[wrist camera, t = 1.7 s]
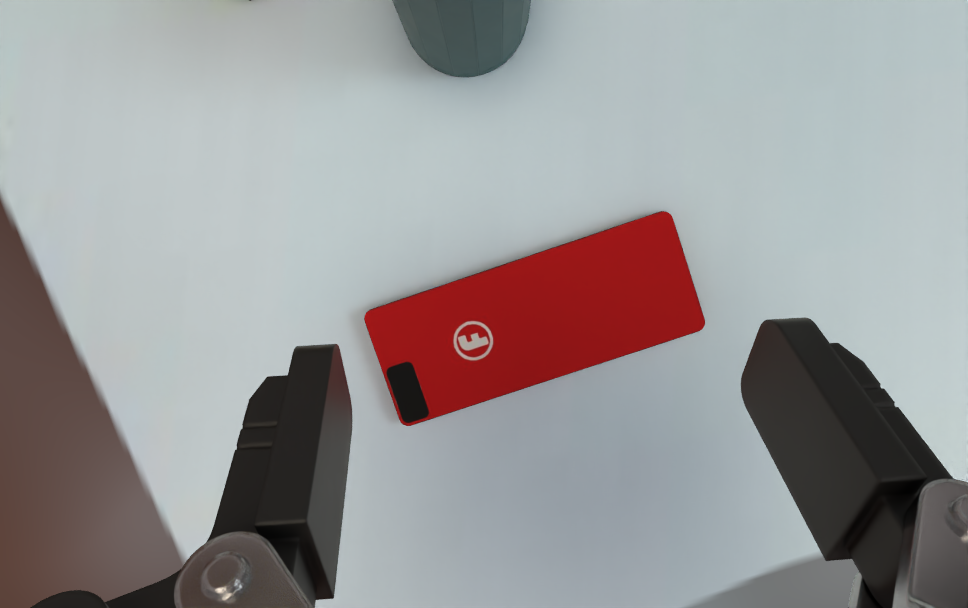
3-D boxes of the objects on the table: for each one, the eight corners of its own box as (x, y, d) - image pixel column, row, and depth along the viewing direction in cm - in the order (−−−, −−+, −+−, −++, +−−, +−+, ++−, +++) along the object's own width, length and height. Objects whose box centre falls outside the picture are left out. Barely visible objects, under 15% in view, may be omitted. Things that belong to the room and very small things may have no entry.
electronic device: (667, 209, 29) (363, 312, 29) (670, 208, 28) (360, 313, 29) (704, 327, 29) (403, 425, 30) (708, 328, 29) (402, 429, 29)
